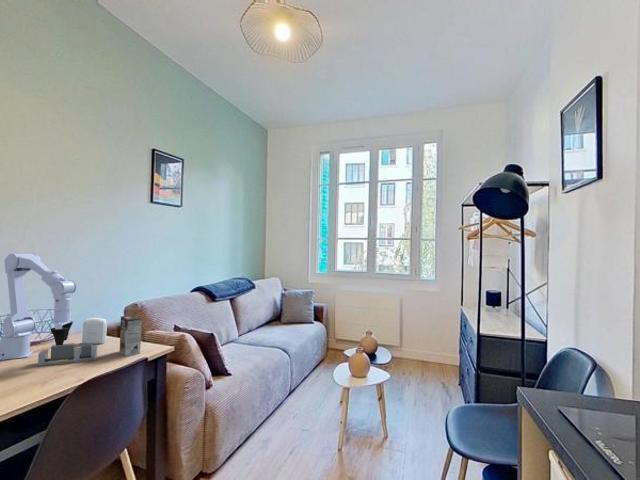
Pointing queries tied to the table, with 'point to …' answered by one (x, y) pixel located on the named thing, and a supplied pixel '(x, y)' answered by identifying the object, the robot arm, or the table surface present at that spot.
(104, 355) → the table surface
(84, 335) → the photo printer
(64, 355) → the panel
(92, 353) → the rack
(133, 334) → the coffee box
